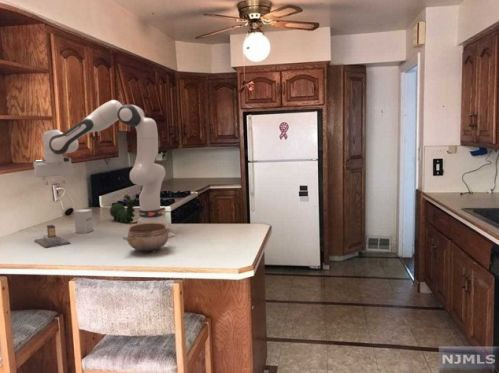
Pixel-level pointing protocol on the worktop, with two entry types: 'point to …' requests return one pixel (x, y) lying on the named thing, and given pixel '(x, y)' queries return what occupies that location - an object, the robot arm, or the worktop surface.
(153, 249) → the cooking pot
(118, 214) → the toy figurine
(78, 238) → the worktop surface
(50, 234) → the brown wooden block
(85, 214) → the supplement box
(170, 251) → the worktop surface
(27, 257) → the worktop surface
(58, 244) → the base
